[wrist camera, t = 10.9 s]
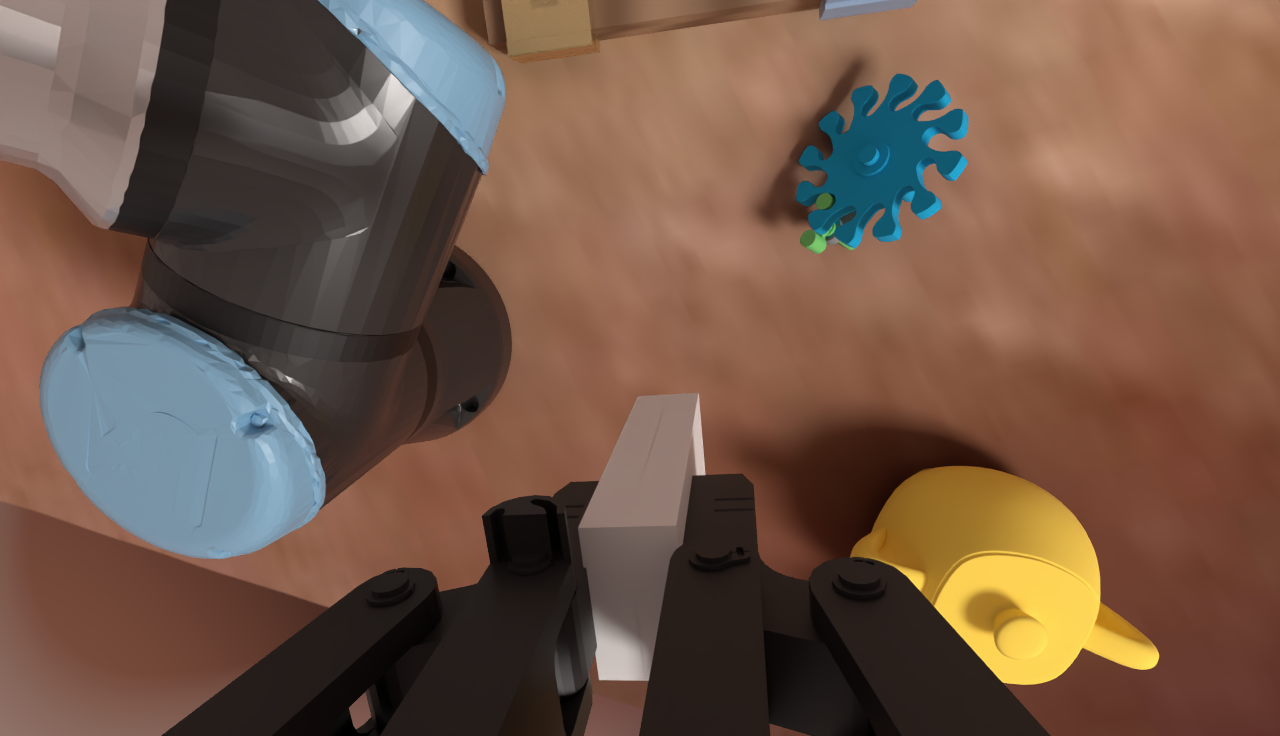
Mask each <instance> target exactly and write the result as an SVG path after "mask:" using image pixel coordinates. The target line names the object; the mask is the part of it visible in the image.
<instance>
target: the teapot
mask: <svg viewBox="0 0 1280 736" xmlns="http://www.w3.org/2000/svg"><path fill="white" fill-rule="evenodd" d="M850 557H864V558H870V559H875V560H878V561H881V562H883V563H886V564H889V565H891V566H894V567H895V568H897V569H898V570H899V571H901V572H902V573H903V574H904V575H906V576H907V577H908V578H909V579H910V580H911V582H912V583H913V584H914V585H915V586H916V587H917V588H918V589H919V590H920V592H921V593H922V594H923V595H924V596H925V597H926V598H927V599H928V600H929V602H930V603H931V604H932V605H933V606H934V607H935V608H936V609H937V610H938V612H939V613H940V614H941V615H942V616H943V617H944V618H945V619H946V620H947V622H948V623H949V624H950V625H951V626H952V627H953V628H954V629H955V630H956V632H957V633H958V634H959V635H960V636H961V637H962V638H963V639H964V640H965V642H966V643H967V644H968V645H969V646H970V647H971V648H972V649H973V650H974V651H975V653H976V654H977V655H978V656H979V657H980V658H981V659H982V660H983V661H984V663H985V664H986V665H987V666H988V667H989V668H990V669H991V670H992V671H993V673H994V674H995V675H996V676H997V677H998V678H999V679H1000V680H1001V681H1002V682H1004V683H1011V684H1038V683H1043V682H1046V681H1050V680H1052V679H1054V678H1056V677H1058V676H1059V675H1060V674H1062V673H1063V672H1064V671H1065V670H1066V669H1067V668H1068V667H1069V666H1070V665H1071V663H1072V662H1073V661H1074V659H1075V658H1076V657H1077V655H1078V654H1079V652H1080V650H1081V649H1082V647H1083V648H1085V649H1087V650H1089V651H1091V652H1093V653H1096V654H1098V655H1100V656H1102V657H1105V658H1107V659H1109V660H1112V661H1114V662H1117V663H1119V664H1122V665H1125V666H1128V667H1131V668H1135V669H1141V670H1144V669H1150V668H1153V667H1154V666H1155V665H1156V664H1157V662H1158V659H1159V653H1158V651H1157V649H1156V647H1155V646H1154V644H1153V643H1152V642H1151V641H1150V640H1149V639H1148V638H1147V637H1146V636H1144V635H1143V634H1142V633H1141V632H1140V631H1138V630H1137V629H1136V628H1135V627H1134V626H1132V625H1131V624H1130V623H1129V622H1127V621H1126V620H1125V619H1123V618H1122V617H1121V616H1119V615H1118V614H1116V613H1115V612H1114V611H1112V610H1111V609H1110V608H1108V607H1107V606H1105V605H1104V604H1102V603H1101V602H1100V573H1099V567H1098V562H1097V557H1096V554H1095V551H1094V548H1093V546H1092V544H1091V542H1090V539H1089V537H1088V536H1087V534H1086V532H1085V530H1084V529H1083V527H1082V525H1081V524H1080V523H1079V521H1078V520H1077V519H1076V517H1075V516H1074V515H1073V514H1072V513H1071V511H1070V510H1069V509H1068V508H1067V507H1066V506H1064V505H1063V504H1062V503H1061V502H1060V501H1059V500H1058V499H1057V498H1055V497H1054V496H1053V495H1051V494H1050V493H1049V492H1047V491H1045V490H1044V489H1042V488H1040V487H1039V486H1037V485H1035V484H1033V483H1031V482H1029V481H1027V480H1025V479H1023V478H1020V477H1017V476H1014V475H1011V474H1008V473H1006V472H1002V471H998V470H994V469H988V468H982V467H972V466H945V467H937V468H932V469H930V468H928V469H923V470H921V471H919V472H917V473H916V474H915V475H913V476H911V477H910V478H908V479H906V480H905V481H904V482H903V483H902V484H900V485H899V486H898V487H897V488H896V489H895V491H894V492H893V493H892V495H891V496H890V497H889V499H888V500H887V502H886V503H885V505H884V507H883V508H882V510H881V512H880V514H879V516H878V518H877V520H876V522H875V524H874V526H873V529H872V532H871V533H870V534H868V535H867V536H865V537H863V538H862V539H860V540H859V541H858V542H857V543H856V544H855V546H854V547H853V549H852V552H851V555H850Z"/></svg>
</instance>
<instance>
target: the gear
mask: <svg viewBox="0 0 1280 736" xmlns="http://www.w3.org/2000/svg"><path fill="white" fill-rule="evenodd" d="M917 88H918V85H917V84H916V83H915V81H914V80H913V79H912V78H911V77H910V76H907V75H904V74H896V75H895V76H894V77H893V78H892V80H891V82H890V85H889V90H888V93H887V95H886V98H885V99H884V101H883V103H882V104H881V105H880V106H879V108H878V109H877V110H876V111H875V112H874V113H873V114H872V115H870V116H867V114H868V112H869V111H870V110H871V109H872V108H873V107H874V105H875V104H876V103H877V101H878V97H879V95H878V92H877V91H876V90H875V89H874V88H873V87H872V86H863V87H860V88H858V89H855V90H854V91H853V93H852V97H851V99H852V102H853V104H854V117H853V120H852V123H851V126H850V128H849V130H848V131H847V132H846V133H844V134H842V131H843V128H844V125H845V120H844V118H843V117H842V116H840V115H839V114H838V113H837V112H836V111H835V110H834V111H832V112H830V113H829V114H827V115H826V116H825V117H824V118H823V119H822V120H821V121H819V128H820V129H821V130H822V131H823V132H824V133H826V134H827V135H828V136H830V138H831V140H832V145H833V152H832V154H831V156H830V157H829V158H828V159H826V160H824V156H823V153H822V152H821V151H819V150H818V149H817V148H816V147H815V146H812V145H810V146H808V147H807V148H806V149H805V151H804V152H803V154H802V155H801V157H800V159H799V163H800V164H801V165H802V166H803V167H804V168H806V169H807V170H809V171H815V170H821V171H824V172H826V173H827V176H828V178H827V181H826V183H825V184H824V185H823V186H821V187H815V186H814V185H813V184H811V183H810V182H809V181H803V182H801V183H799V185H798V188H797V194H796V201H798V202H799V203H801V204H802V205H804V206H811V205H813V204H814V203H815V202H816V207H817V208H818V209H817V210H814V211H812V212H811V213H810V214H809V215H808V221H809V224H810V226H811V227H812V229H813V230H814V231H815V232H814V231H812V230H807V231H805V232H804V233H803V234H802V236H801V238H800V243H801V245H802V246H804V247H806V248H807V249H809V250H810V251H812V252H814V253H817V254H818V253H821V252H822V251H824V249H825V248H826V245H827V244H828V245H834V244H837V243H839V244H841V245H842V246H844V247H845V248H847V249H848V250H853V249H855V248H856V247H857V246H858V245H859V244H860V242H861V240H862V234H863V231H864V228H865V226H866V224H867V223H868V221H869V220H870V219H871V218H872V217H873V216H874V215H875V214H876V212H878V211H879V210H880V209H883V208H885V213H884V215H883V216H882V217H881V218H880V219H879V220H878V221H877V222H876V224H875V225H874V227H873V231H872V232H873V236H874V237H875V238H877V239H878V240H879V241H883V242H889V241H895V240H899V239H900V237H901V234H902V228H901V226H900V224H899V219H898V214H899V208H900V205H901V202H902V200H904V201H906V202H911V201H912V202H911V210H912V212H913V213H914V214H916V215H917V216H918V217H919V218H920V219H922V220H923V219H926V218H928V217H930V216H932V215H933V214H934V213H936V212H937V211H938V210H940V209H941V208H942V204H941V201H940V200H939V199H938V198H937V197H936V196H935V195H934V194H933V193H932V192H930V191H927V190H926V188H925V186H924V182H923V177H922V174H923V171H924V169H925V168H926V167H927V166H928V165H930V164H934V163H936V166H937V170H938V171H939V173H940V174H941V175H942V176H943V177H944V178H945V179H946V180H949V181H955V180H956V179H957V178H958V177H959V176H960V174H961V173H962V172H963V170H964V168H965V167H966V165H967V163H968V162H967V160H966V159H965V158H964V156H963V155H962V154H961V153H960V152H958V151H948V152H940V151H935V150H933V149H931V148H929V147H928V142H929V140H930V139H931V138H932V137H933V136H934V135H936V134H939V133H943V134H945V135H946V136H948V137H949V138H951V139H954V140H957V139H961V138H963V137H965V136H966V133H967V130H968V116H967V115H966V113H965V112H964V111H963V110H962V109H954V110H952V111H950V112H948V113H947V114H946V115H944V116H942V117H940V118H938V119H935V120H931V121H918V118H919V116H920V115H921V114H922V113H923V112H925V111H928V110H940V109H943V108H945V107H946V106H947V105H948V104H949V103H950V102H951V97H950V95H949V93H948V92H947V91H946V89H945V88H944V87H943V85H942V84H941V83H940V82H939V81H938V80H935V81H933V82H931V83H930V84H929V85H928V86H927V87H926V88H925V90H924V91H923V92H922V94H921V95H920V96H919V97H918V98H917V99H916V100H915V101H914V102H912V103H911V104H909V105H908V106H906V107H904V108H902V109H900V110H898V111H895V109H896V107H897V106H898V105H899V104H900V103H901V102H903V101H905V100H907V99H909V98H910V97H912V96H913V95H914V94H915V92H916V91H917ZM835 198H836V199H835Z"/></svg>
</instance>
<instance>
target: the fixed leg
mask: <svg viewBox="0 0 1280 736" xmlns="http://www.w3.org/2000/svg"><path fill="white" fill-rule="evenodd" d="M501 3H502V10H503V17H504V24H505V31H506V38H507V49H508V56H509V57H510V58H512V59H513V60H516V61H518V62H520V63H527V62H534V61H541V60H548V59H554V58H561V57H568V56H575V55H582V54H589V53H596V52H600V45H599V39H598V38H597V37H596V36H595V34H594V25H593V16H592V7H591V0H501Z"/></svg>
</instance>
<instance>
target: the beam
mask: <svg viewBox="0 0 1280 736" xmlns="http://www.w3.org/2000/svg"><path fill="white" fill-rule="evenodd" d="M482 1H483V7H484V14H485V21H486V28H487V34H488V41H489V45H491V46H492V47H494V48H496V49H497V50H499V51H501V52H503V53H504V54H508V49H507V38H506V31H505V24H504V17H503V10H502V3H501V0H482ZM821 2H822V0H591V7H592V16H593V25H594V34H595V36H596V37H597V38H598V39H599V40H606V39H613V38H620V37H626V36H633V35H640V34H647V33H654V32H661V31H667V30H674V29H681V28H688V27H695V26H701V25H708V24H715V23H722V22H729V21H736V20H742V19H749V18H756V17H763V16H770V15H776V14H783V13H790V12H797V11H804V10H811V9H817V8H819V6H820V4H821Z"/></svg>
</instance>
